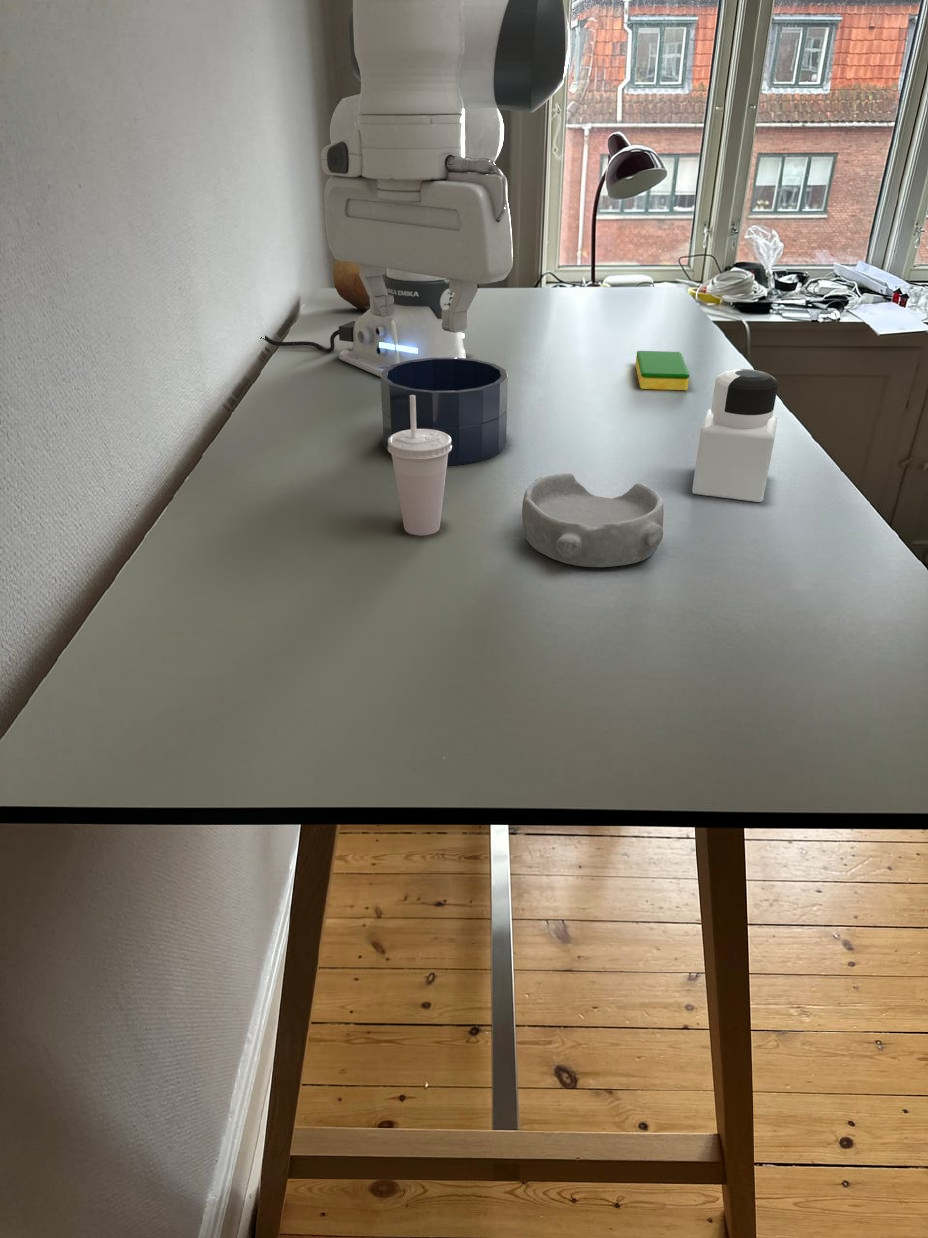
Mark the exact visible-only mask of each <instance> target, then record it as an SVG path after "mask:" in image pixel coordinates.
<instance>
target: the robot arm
mask: <svg viewBox="0 0 928 1238" xmlns="http://www.w3.org/2000/svg"><path fill="white" fill-rule="evenodd" d="M348 31H349V32H348V33H349V49H350V50H349V51H350V65H351V70H352V74H353V76H354V77H355V78H356V80H358V81H359V82H360V93H357V94H354V95H350V96H347V97H343V98H341V100H340V101H339V102H338V104H337V105H336V107H335V109H334V110H333V113H332V116H331V119H330V123H329V124H330V126H329V139H330V140H329V141H330V143H329V144H328V145H325V146H323V148H322V149H321V153H320V162H321V168H322V169H321V170H322V171H323V173H324V174H326V175H328V176H330V177H329V178H328V179H327V181H326V183H325V186H324V194H323V199H324V204H323V205H324V220H325V221H324V222H325V229H326V230H325V232H326V239H327V245H328V248H329V250H330V252H331V253H332V256H333V257H334V259H335V261H336V260H340V261H346V262H352V263H358V264H359V276H360V278H361V280H362V283H363V285H364V287H365V289H366V291H367V293H368V296H370V309H369V310H365V312H364V313H363V314H362V315H360V317H358V318H357V319H356V320H352V321H349V322H347V323H344V324H341V325H339V326H338V329H337V330H335V331H334V332H332V333H331V335H330V338H329V343H330V347H328V348H327V347H324V346H323V345H321V344H320V343H318V342H317V343H316V342H315V341H303V340H302V341H301V340H300V341H299V340H298V341H277V340H273V339H272V338H270V337H269V336H267V335H266V334H264V335H265V339H264V338H262V337H261V338H260V340H261V339H262V340H264V341H265V342H267V343H268V344H269V345H273V346H277V347H279V346H280V347H296V346H297V347H299V346H300V347H301V346H302V347H303V346H305V347H308V346H309V347H314V348H316V349H318V350H321V351H323V352H325V353H332V352H334V351H335V347H336V345H335V343H336V342H335V338H336V337H337V336H338V337H339V338H338V340H339V341H340V342H341V341H342V342H349V343H352V346H349V347H348V348H346V349H343V350H342V351H340V352H339V353H338V354H339V355H338V359H339V360H341V361H343V362H345V363H348V364H350V365H352V366H355V367H357V368H359V369H361V370H364V371H366V372H367V373H370V374H373V375H375V376H378V377H380V378H381V372H382V371H383V370H384V369H386V368H388V367H389V366H391V365H393V364H397V363H401V362H405V361H408V360H416V359H424V358H446V357H454V358H455V357H456V358H466V357H467V356H466V350H465V348H464V342H463V339H465V333H463V332H465V331H466V329H467V327H468V310H469V309H470V306H471V304H472V303H473V302H474V299H475V297H476V295H477V292H478V285H486V284H491V283H497V282H500V281H504V280H506V278H507V277H508V275H509V274H510V272H511V270H512V269H513V263H514V262H513V260H514V259H513V257H514V254H513V253H514V252H513V233H512V224H511V214H510V213H511V212H510V208H509V202H508V201H509V200H508V187H509V186H508V180H507V177H506V176H505V175H504V173H503V171H502V170H501V169H500V168H499V167H498V165H496V164H495V162H496V161H497V159H498V158H499V155H500V154H501V150H502V147H503V143H504V136H505V126H504V122H503V117H502V114H501V112H500V110H501V111H502V110H503V111H512V112H523V113H531V114H532V113H534V112H535V111H537V110H538V109H540V108H541V107H542V106H543V105H545V103H547V102H548V101H550V100H551V98H552V97H553V96H554V95H555V94H556V93H557V92H558V91H559V89H560V88H561V87H562V86H563V84H564V79H565V76H566V73H567V69H568V65H569V58H570V48H571V47H570V46H571V45H570V43H571V39H570V37H571V35H570V24H569V18H568V14H567V10H566V8H565V5H564V0H352V8H351V10H349V14H348ZM493 172H495V174H493ZM385 268H386V270H385ZM385 274H386V275H385ZM382 275H385V276H384V278H382ZM466 359H467V358H466Z"/></svg>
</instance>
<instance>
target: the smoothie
mask: <svg viewBox="0 0 928 1238" xmlns="http://www.w3.org/2000/svg"><path fill="white" fill-rule="evenodd" d="M410 421H411V429H410V430H404V431H400V432H397V433H395V434H393V435H391V436H390V437H389V438H388V451H389V452H390V453H391V454H392V455H391V454H390V453H389V452H388V451H387V452H388V453H389V454H390V455H391V458H392V459H391V460H392V465H393V471H394V476H395V482H396V488H397V494H398V500H399V506H400V511H401V517H402V523H403V528H404V531H405V532H406V533H407V534H409V535H413V536H430V535H433V534H436V533H437V532H438V531H440V527H441V520H442V519H441V518H442V510H443V501H444V494H445V484H446V476H447V467H448V465H447V459H448V453H449V452H450V451H451V449H452V446H451V437H450V436H449V435H448V434H446V433H444V432H441V431H437V430H432V429H416V399H415V395H410Z"/></svg>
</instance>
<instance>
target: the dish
mask: <svg viewBox="0 0 928 1238" xmlns="http://www.w3.org/2000/svg"><path fill="white" fill-rule="evenodd" d="M664 511H665V510H664V502H663V499H662V497H661V495H660V494H659V493H658V492H657V491H656V490H655V489H653V488H651V487H649V486H648V485H646V484H643V483H641V482H640V483H639V482H637V483H634V485H633V486H632V487H631V488H630V489H628V491H627V492H625V493H624V494H622V495H619V496H616V497H611V498H610V497H603V496H599V495H595V494H593V493H591V492H590V491H589V490H588V489H586V488H585V487H584V486H583V485H582V484H581V483H580V482H579V481H578V480H577V479H576V477H575V475H574V474H572V473H567V472H564V473H556V474H550V475H546V476H540V477H538V478H537V479H535V480H534V482H532V483H531V484H530V485H529V486H528V487H527V488H526V490H525V491H524V495H523V499H522V507H521V524H522V530H523V533H524V537H525V539H526V540H527V542H528V544H529V545H530V546H531V547H532V548H533V549H534V550H536V551H537V552H539V553H541V554H543V555H544V556H546V557H548V558H550V559H553V560H555V561H558V562H560V563H564V564H567V565H572V566H578V567H586V568H611V567H618V566H626V565H632V564H636V563H640V562H642V561H644V560H647V559H648V558H650V557H651V556H652V555H653V554H654V553H655V552H656V551H657V548H658V547H659V545H660V544H661V543H662V540H663V537H664V529H663V528H664V513H665V512H664Z"/></svg>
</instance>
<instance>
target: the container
mask: <svg viewBox="0 0 928 1238" xmlns="http://www.w3.org/2000/svg"><path fill="white" fill-rule="evenodd" d="M714 381H715V382H714V388H713V395H712V402H711V408H709V409H707V411H706V415H705V417H704V419H703V423H702V426H701V428H700V433H699V439H698V445H697V452H696V453H697V455H696V460H695V466H694V467H695V468H694V475H693V481H692V489H691V491H692V494H693V495H699V496H707V497H714V498H724V499H730V500H731V499H732V500H739V501H747V502H755V503H761V502H762V501H763V500H764V497H765V491H766V487H767V481H768V476H769V470H770V465H771V459H772V454H773V449H774V444H775V439H776V438H775V437H776V432H777V424H778V423H777V422H778V417H777V415H776V414H774V411H775V404H776V399H777V393H778V388H779V382H778V380H777V379H776V377H774V376H773V375H771V374H769V373H768V372H765V371H762V370H757V369H749V368H735V369H730V370H729V369H728V370H727V371H723V372H720V373H719V374H718V375H717V377H716V378H715V380H714Z"/></svg>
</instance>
